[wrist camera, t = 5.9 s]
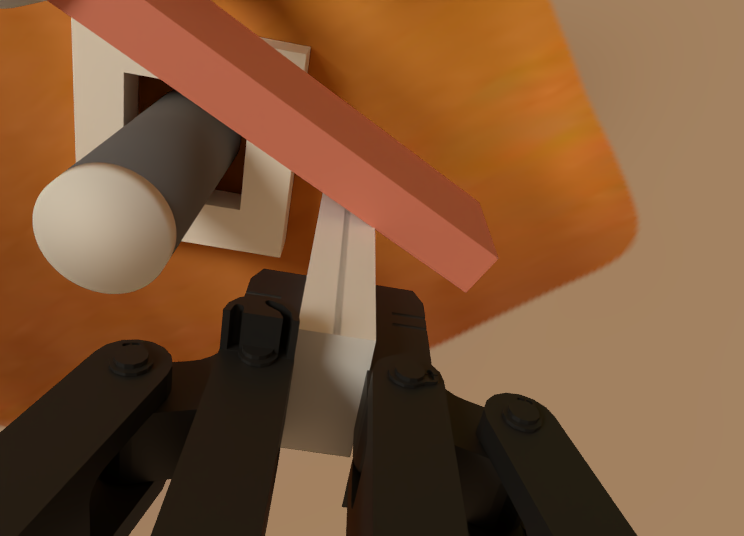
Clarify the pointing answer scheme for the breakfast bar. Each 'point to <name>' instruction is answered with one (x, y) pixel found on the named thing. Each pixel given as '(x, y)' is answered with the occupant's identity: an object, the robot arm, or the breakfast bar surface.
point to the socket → (223, 209)
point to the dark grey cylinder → (134, 196)
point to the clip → (297, 125)
